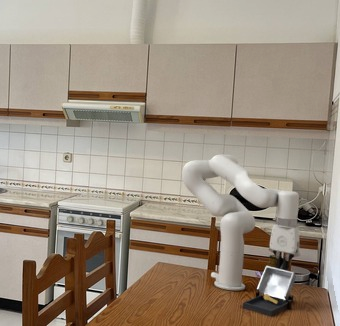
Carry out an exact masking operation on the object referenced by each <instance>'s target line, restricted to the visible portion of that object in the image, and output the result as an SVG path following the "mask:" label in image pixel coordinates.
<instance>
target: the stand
mask: <svg viewBox="0 0 340 326" xmlns="http://www.w3.org/2000/svg"><path fill="white" fill-rule="evenodd" d="M254 295H255V296H254V298H255V297H257V296H260V295H261V293H259V292H258V290H257V291H256V292H255V294H254ZM271 298H274V297H271ZM274 299H278V298H274ZM278 300H281V299H278ZM281 301H285V300H281ZM285 302H288V303H287V308H286V310H291V309H292V303H294V295H293V294H290V295H289V297H288V300H286V301H285Z"/></svg>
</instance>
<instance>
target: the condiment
mask: <svg viewBox="0 0 340 326" xmlns="http://www.w3.org/2000/svg"><path fill="white" fill-rule="evenodd" d="M267 266H269V267H273V268H277V258H276V256H275V255H274V254H270V255H269V257H268V261H267ZM270 272H271V271H270ZM268 273H269V272H268ZM274 273H275V272H274ZM278 274H279V273H278Z"/></svg>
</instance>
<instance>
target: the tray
mask: <svg viewBox="0 0 340 326" xmlns="http://www.w3.org/2000/svg"><path fill="white" fill-rule="evenodd" d="M273 299H274V298H273ZM275 300H276V301H278V303H277V304H275V303H273V302H272V301H270V300H265V299H264V295H263V294H260V295H259V296H257V297H255V296H254V297H253V298H251V299H248V300H246V301H243V302H242V308H243V309H246V310H250V311H253V312H257V313H259V314H263V315H267V316H269V317H273V316H275V315H277V314H278V313H281V312H282V311H285V310H287V303H288V302H285V301H281V300H278V299H275Z"/></svg>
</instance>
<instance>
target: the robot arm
mask: <svg viewBox="0 0 340 326" xmlns="http://www.w3.org/2000/svg"><path fill="white" fill-rule="evenodd" d="M249 176H250V172H249V170H247V168H245V167H243V166H241V165H240V164H239V161H238V159H237V158H236V157H235V156H234V155H232V154H223V153H222V154H216V155H214V156H212V158H211V159H194V160H190V161H188V162H186V163H185V164H184V166H183V167H182V171H181V178H182V183H183V184H184V186H185V187H186V189H187V190H188V191H189V192H190V193H191V194H192V195H193V196H194V197H195V198H196V199H197V201H199V203H200V204H201V205H202V206H203V207H204V209H206V210H207V211H208V212H209V214H210V215H211V216H213V217H221V220H220V222H219V229H220V253H219V264H218V265H219V266H218V272H214V271H212V272H211V274H210V278H213V279H215V280H214V283H213V284H214V286H215V287H216V288H218V289H222V290H226V291H235V292H236V291H244V290H245V289H246V285H245V284H244V283H243V269H244V257H245V240H244V235H245V234H248V233H250V232H252V231H253V230H254V229H255V226H256V219H255V217H254V215H253V214H252V212H250V210H249V209H247V208H246V206H244V204H243V203H241V201H240V200H239V199H237V197H235V196H234V195H232V194H229V193H228V194H227V193H220V192H218V191H217V190H216V189H215V188H214V187H213V186H212V185H211V184H210V183H209V182H208V181H206V180H208V179H209V180H210V179H214V178H218V177H220V178H221V179H223V180H224V181H226V182H227V183H228V184H230V185H231V186H233V187H234V188H235V189H236V191H237V192H238V193H239V194H240V195H241V197H243V198H244V199H245V200H246V201H248V202H249V203H251V204H253V205H254V206H256V207H258V208H261V209H266V208H277V209H276V217H272V222H275V224H273V225H272V228H271V229H272V230H271V233H270V239H269V247H268V251H270V252H271V253H273V255H275V256H276V258H277V268H278V269H279V268H280V266H281V263H282V261H283V258H284V257H283V253H284V254H285V257H286V258H285V260H284V267H283V270H286V271H289V269H290V266H291V265H290V264H291V260H292V259H293V258H297V257H300V256H301V253H300V229H299V227H298V226H297V225H298V214H299V204H300V202H299V201H300V194H299V193H298V192H297V191H292V190H282V189H278V188H275V187H269V188H268V187H267V188H263V187H262V186H260V185H258V184H257V183H256V182H254V181H253V180H252V179H251V178H250V177H249Z"/></svg>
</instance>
